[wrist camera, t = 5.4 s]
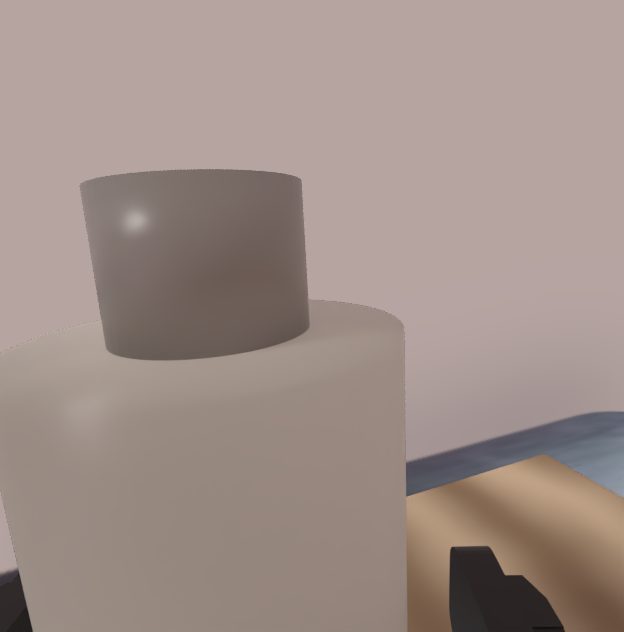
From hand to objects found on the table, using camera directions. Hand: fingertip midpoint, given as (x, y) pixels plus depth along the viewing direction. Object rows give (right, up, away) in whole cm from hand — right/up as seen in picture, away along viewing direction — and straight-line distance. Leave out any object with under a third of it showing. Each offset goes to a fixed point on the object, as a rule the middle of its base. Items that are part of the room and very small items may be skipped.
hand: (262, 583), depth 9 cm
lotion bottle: (0, -8, 0) cm, 8 cm away
